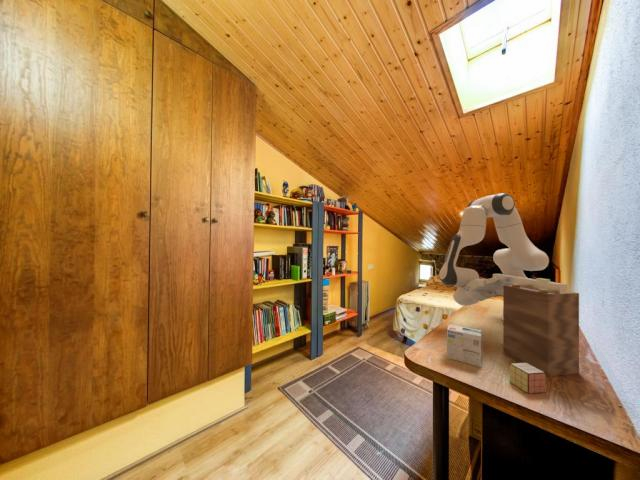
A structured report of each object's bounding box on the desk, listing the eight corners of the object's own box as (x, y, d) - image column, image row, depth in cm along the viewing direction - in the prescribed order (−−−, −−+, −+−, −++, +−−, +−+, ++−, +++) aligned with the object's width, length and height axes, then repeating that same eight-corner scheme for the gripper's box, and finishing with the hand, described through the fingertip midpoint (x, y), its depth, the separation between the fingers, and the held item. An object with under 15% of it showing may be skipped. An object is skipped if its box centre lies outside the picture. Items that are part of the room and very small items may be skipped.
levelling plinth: (530, 351, 89) (530, 281, 89) (579, 373, 74) (578, 290, 74) (503, 353, 87) (503, 282, 88) (547, 376, 73) (547, 291, 73)
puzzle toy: (525, 380, 70) (525, 362, 70) (546, 392, 65) (546, 372, 65) (509, 381, 70) (509, 363, 70) (528, 394, 64) (528, 373, 64)
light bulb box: (482, 359, 83) (482, 329, 83) (481, 368, 77) (482, 336, 77) (448, 351, 89) (448, 323, 89) (446, 358, 84) (446, 328, 84)
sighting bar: (498, 280, 98) (498, 271, 98) (567, 293, 74) (567, 281, 74) (492, 280, 97) (492, 271, 97) (559, 293, 73) (559, 281, 73)
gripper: (459, 283, 104) (481, 271, 92) (498, 282, 107) (524, 270, 95) (464, 297, 101) (488, 286, 89) (504, 295, 104) (532, 285, 92)
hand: (507, 278), depth 92 cm, fingers open, 8 cm apart
